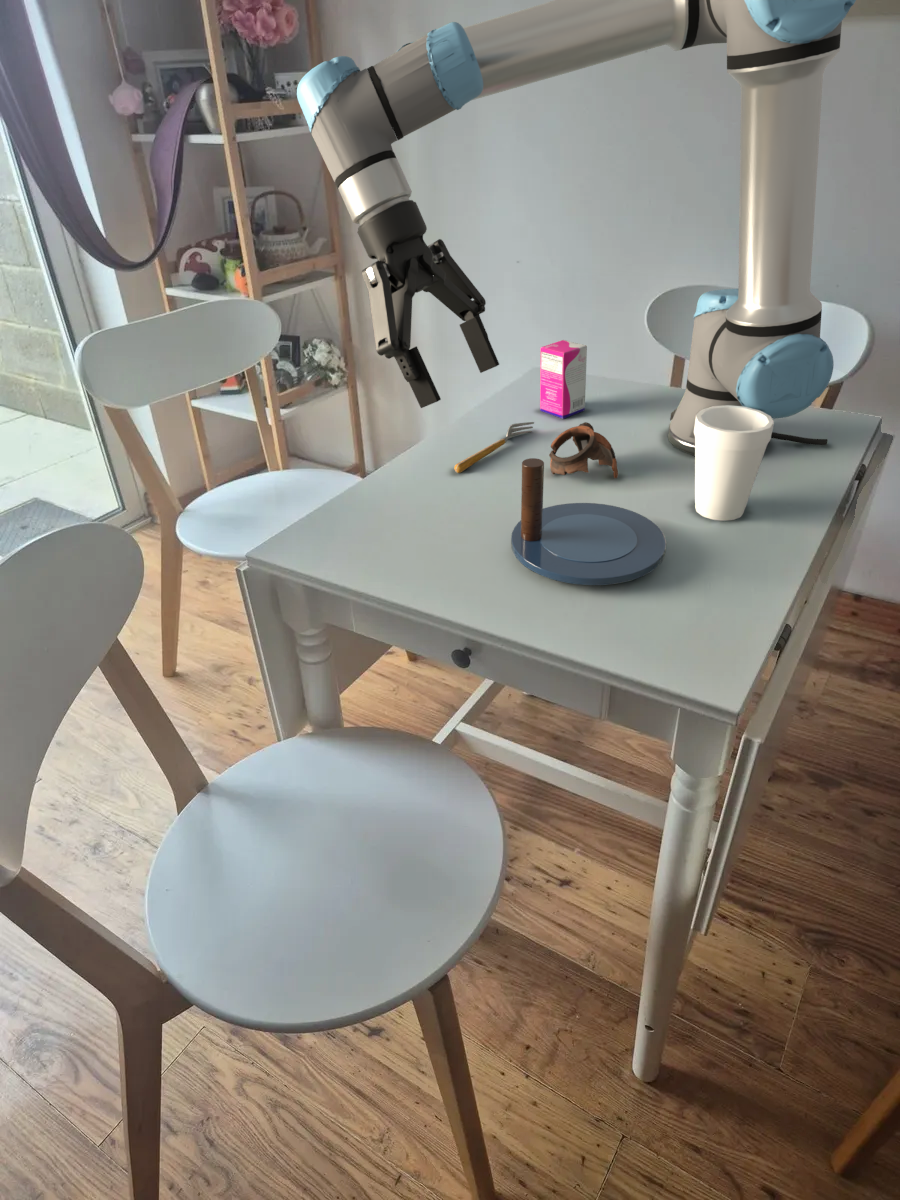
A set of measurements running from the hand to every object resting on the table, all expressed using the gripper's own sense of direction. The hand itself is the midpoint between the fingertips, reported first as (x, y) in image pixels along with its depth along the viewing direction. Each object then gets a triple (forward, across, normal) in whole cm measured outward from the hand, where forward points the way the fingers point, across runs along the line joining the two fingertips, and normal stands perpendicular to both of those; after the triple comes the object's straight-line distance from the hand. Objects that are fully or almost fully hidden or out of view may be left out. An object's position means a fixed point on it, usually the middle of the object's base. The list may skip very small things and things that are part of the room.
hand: (461, 385), depth 99 cm
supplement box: (+14, -43, -15) cm, 48 cm away
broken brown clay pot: (+21, -22, -3) cm, 30 cm away
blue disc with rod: (+24, 0, +7) cm, 25 cm away
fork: (+14, -22, -17) cm, 31 cm away
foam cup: (+30, -20, +16) cm, 40 cm away
